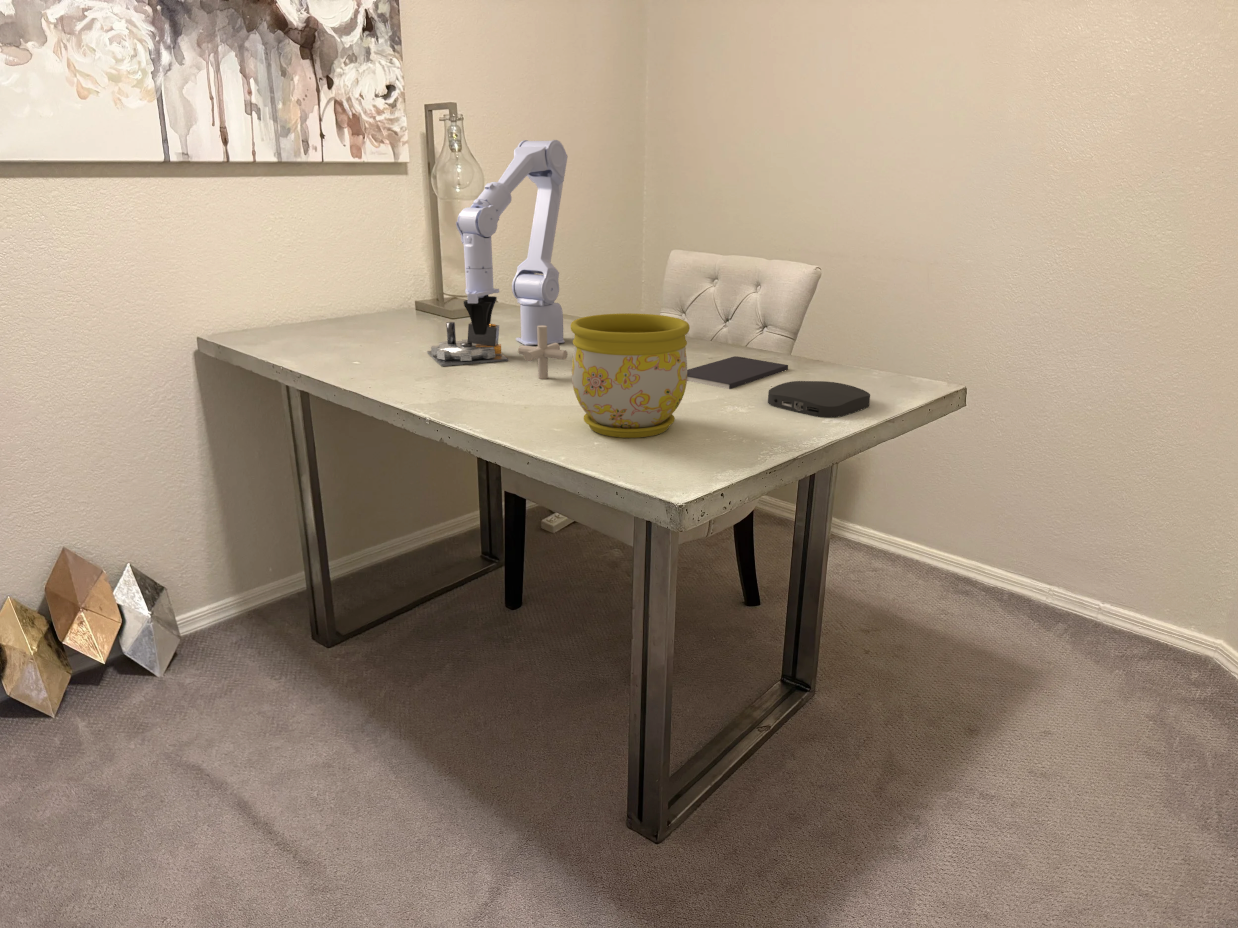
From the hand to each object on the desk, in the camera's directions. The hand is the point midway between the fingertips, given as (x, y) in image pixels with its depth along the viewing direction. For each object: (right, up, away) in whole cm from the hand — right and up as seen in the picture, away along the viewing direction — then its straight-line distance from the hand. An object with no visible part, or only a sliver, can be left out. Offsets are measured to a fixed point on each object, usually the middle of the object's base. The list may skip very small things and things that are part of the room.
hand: (481, 332), depth 181 cm
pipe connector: (+15, -12, -17) cm, 25 cm away
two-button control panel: (0, -2, +1) cm, 2 cm away
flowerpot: (+31, -22, -47) cm, 61 cm away
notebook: (+52, -11, -13) cm, 54 cm away
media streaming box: (+64, -18, -34) cm, 74 cm away
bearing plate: (-3, -5, 0) cm, 6 cm away
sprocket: (-3, -5, 0) cm, 6 cm away
